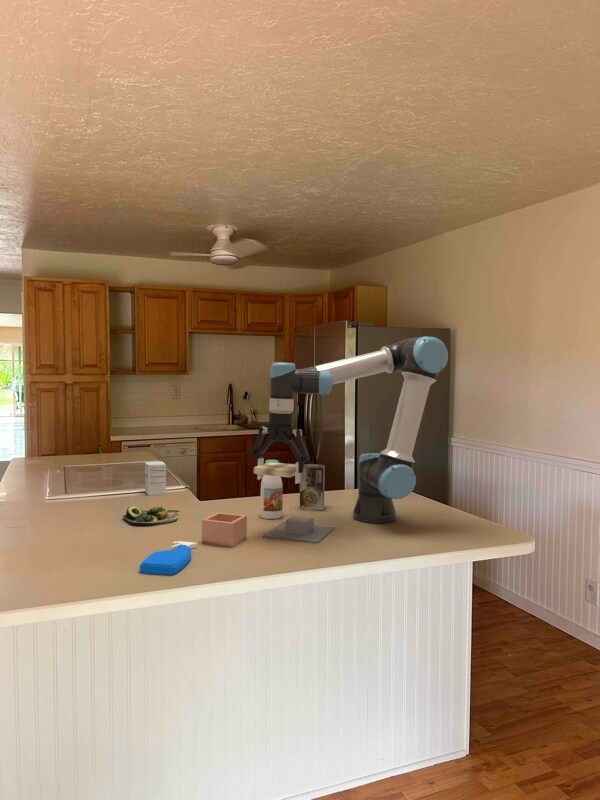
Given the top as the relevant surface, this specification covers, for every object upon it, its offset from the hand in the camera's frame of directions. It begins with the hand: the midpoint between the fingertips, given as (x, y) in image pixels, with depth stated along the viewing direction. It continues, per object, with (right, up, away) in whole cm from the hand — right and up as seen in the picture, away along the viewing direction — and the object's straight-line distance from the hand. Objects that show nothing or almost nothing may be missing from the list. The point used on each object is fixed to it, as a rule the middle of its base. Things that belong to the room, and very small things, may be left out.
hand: (278, 481), depth 188 cm
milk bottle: (-3, -16, +23) cm, 28 cm away
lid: (0, +3, 0) cm, 3 cm away
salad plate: (-45, -16, +17) cm, 51 cm away
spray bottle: (-28, -19, -24) cm, 41 cm away
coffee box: (+11, -15, +37) cm, 42 cm away
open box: (-16, -17, -6) cm, 24 cm away
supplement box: (-53, -13, +58) cm, 79 cm away
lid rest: (+7, -17, +4) cm, 19 cm away
